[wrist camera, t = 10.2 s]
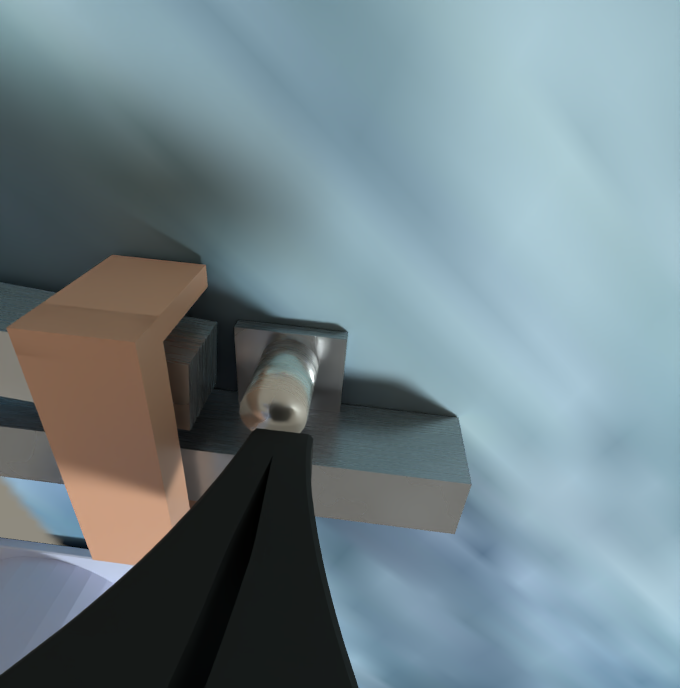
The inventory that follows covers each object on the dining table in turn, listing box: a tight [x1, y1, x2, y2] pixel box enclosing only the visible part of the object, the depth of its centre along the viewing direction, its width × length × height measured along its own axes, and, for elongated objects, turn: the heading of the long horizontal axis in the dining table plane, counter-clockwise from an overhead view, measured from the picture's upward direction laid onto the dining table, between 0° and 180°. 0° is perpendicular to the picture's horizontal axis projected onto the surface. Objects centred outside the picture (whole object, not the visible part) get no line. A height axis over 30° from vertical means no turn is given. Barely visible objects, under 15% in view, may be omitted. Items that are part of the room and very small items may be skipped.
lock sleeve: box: [6, 255, 208, 565], centre depth 12 cm, size 7×2×4 cm, turn 176°
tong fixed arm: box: [0, 320, 472, 534], centre depth 12 cm, size 4×21×2 cm, turn 86°
